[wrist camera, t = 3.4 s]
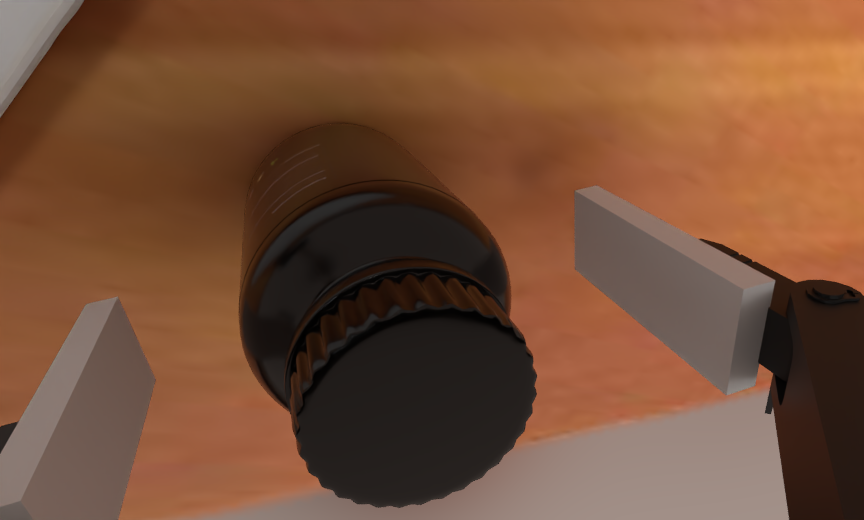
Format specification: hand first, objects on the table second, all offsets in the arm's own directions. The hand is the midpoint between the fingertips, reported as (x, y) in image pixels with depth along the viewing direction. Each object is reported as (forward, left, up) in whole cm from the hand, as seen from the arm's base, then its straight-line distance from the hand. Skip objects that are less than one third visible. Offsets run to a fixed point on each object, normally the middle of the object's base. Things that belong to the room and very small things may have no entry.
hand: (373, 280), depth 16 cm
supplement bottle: (0, 0, -6) cm, 6 cm away
